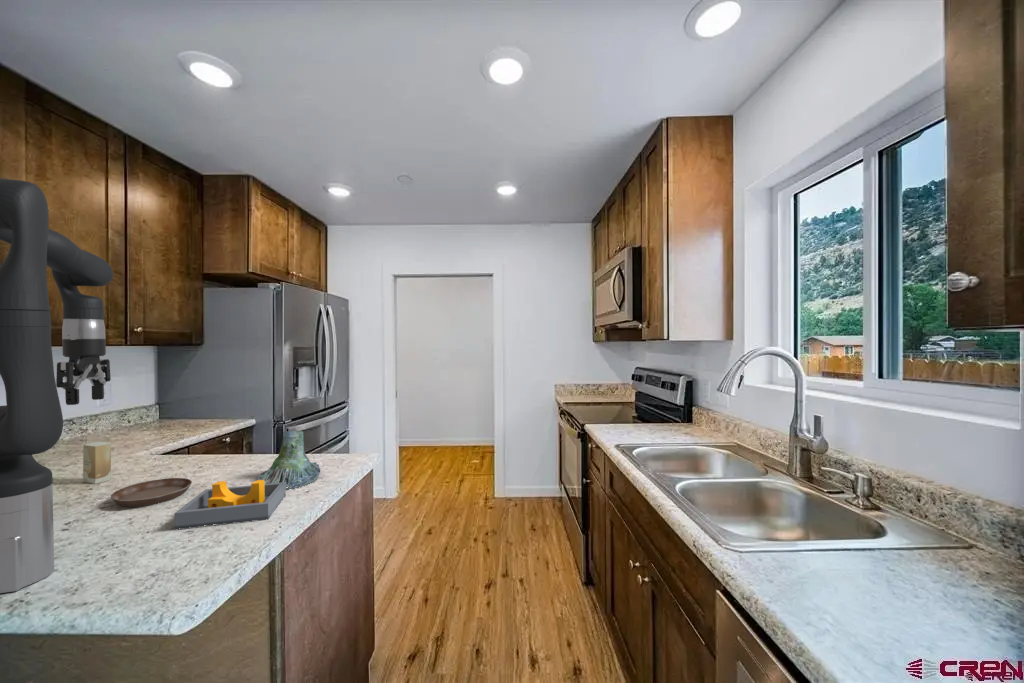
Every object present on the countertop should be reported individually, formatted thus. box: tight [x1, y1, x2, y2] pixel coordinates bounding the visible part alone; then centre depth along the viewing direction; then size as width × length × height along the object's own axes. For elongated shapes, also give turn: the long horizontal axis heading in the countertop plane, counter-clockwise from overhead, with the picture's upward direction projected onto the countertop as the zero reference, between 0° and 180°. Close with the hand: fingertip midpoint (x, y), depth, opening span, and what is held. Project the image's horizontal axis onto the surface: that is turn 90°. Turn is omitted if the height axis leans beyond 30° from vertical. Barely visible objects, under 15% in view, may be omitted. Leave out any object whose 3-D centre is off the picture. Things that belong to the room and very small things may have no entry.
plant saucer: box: [110, 477, 193, 508], centre depth 119 cm, size 18×18×3 cm
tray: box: [174, 482, 287, 530], centre depth 108 cm, size 16×20×4 cm
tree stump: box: [257, 430, 321, 491], centre depth 134 cm, size 18×20×18 cm
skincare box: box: [82, 441, 112, 484], centre depth 133 cm, size 6×4×12 cm
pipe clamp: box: [208, 479, 265, 508], centre depth 109 cm, size 12×4×6 cm, turn 93°
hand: (85, 401), depth 103 cm, fingers open, 8 cm apart
